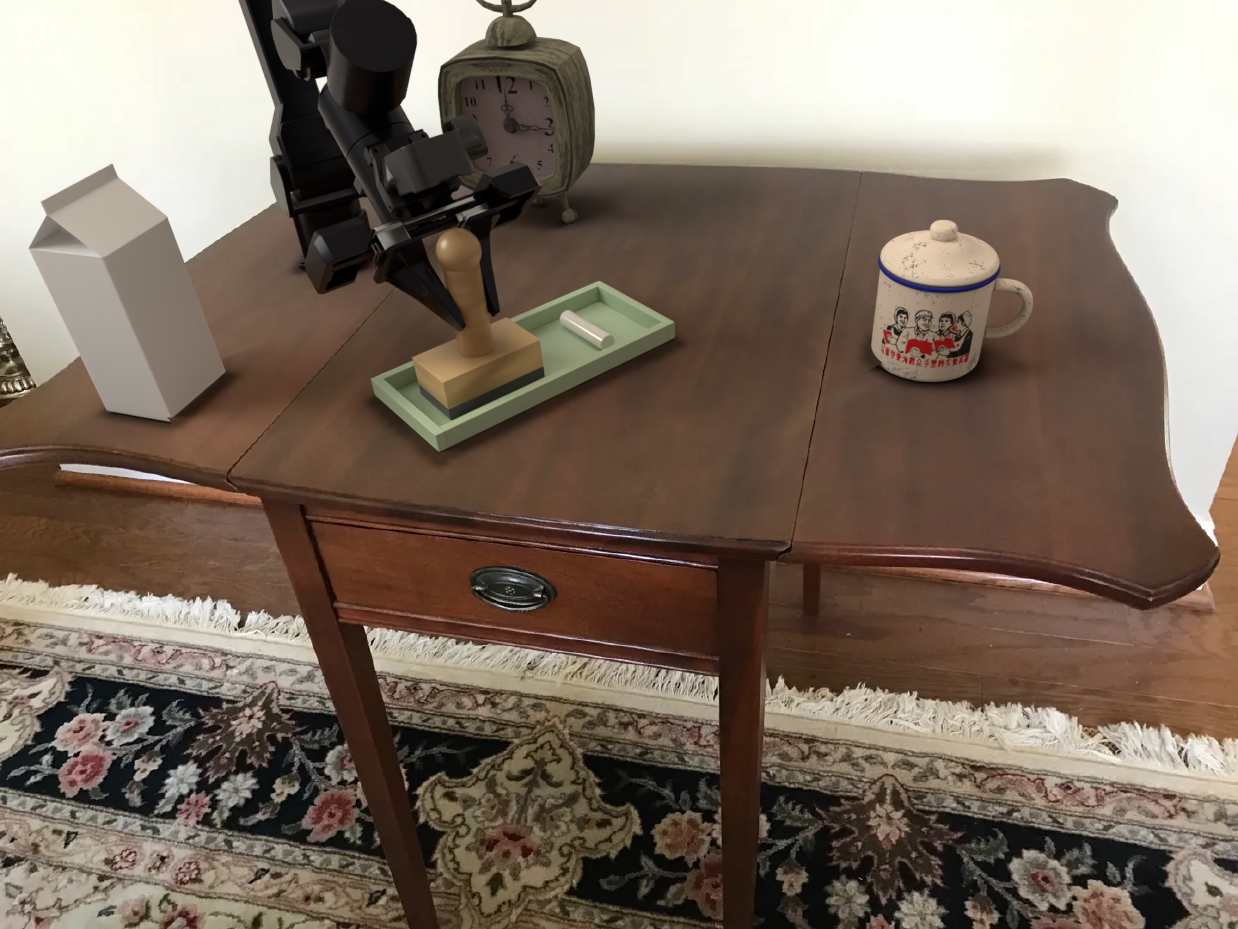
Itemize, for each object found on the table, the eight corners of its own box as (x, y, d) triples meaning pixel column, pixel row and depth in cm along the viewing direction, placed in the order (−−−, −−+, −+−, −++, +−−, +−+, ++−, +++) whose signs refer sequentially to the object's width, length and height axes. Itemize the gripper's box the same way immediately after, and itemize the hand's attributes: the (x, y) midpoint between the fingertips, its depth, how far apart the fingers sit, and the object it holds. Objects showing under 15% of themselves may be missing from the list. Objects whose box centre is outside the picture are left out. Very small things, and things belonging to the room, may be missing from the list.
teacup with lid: (863, 379, 77) (878, 246, 70) (871, 323, 84) (886, 196, 77) (1021, 395, 75) (1054, 257, 67) (1016, 335, 81) (1046, 204, 74)
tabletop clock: (458, 223, 106) (414, -25, 91) (489, 190, 113) (454, -46, 97) (581, 232, 102) (558, -25, 87) (606, 198, 109) (589, -47, 94)
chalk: (605, 333, 81) (598, 349, 81) (617, 336, 82) (610, 352, 82) (563, 308, 85) (557, 323, 85) (575, 311, 86) (569, 327, 86)
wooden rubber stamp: (451, 420, 75) (416, 261, 67) (420, 394, 78) (383, 239, 70) (545, 376, 79) (524, 221, 71) (512, 353, 82) (488, 201, 74)
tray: (440, 459, 73) (435, 435, 71) (376, 401, 79) (370, 378, 78) (675, 344, 84) (674, 321, 82) (601, 302, 90) (599, 280, 89)
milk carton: (229, 378, 84) (149, 166, 72) (175, 425, 79) (79, 204, 67) (163, 368, 86) (75, 160, 74) (107, 413, 81) (2, 197, 69)
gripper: (275, 120, 63) (392, 328, 62) (512, 53, 71) (615, 236, 71) (263, 201, 72) (364, 381, 72) (472, 134, 81) (563, 295, 81)
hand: (479, 321), depth 74 cm, fingers closed on wooden rubber stamp, 3 cm apart
